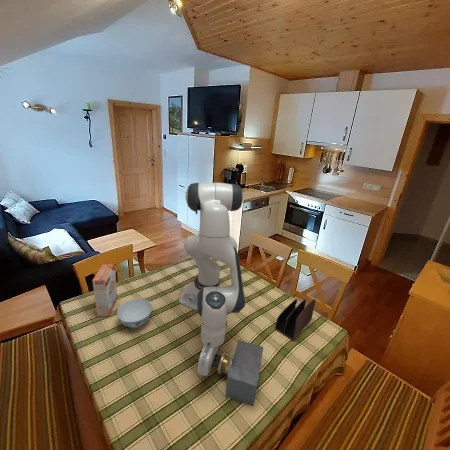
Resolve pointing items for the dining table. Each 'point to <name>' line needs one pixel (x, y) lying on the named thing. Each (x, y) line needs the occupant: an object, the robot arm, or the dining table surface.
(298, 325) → the letter holder
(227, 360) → the brass flanged shaft
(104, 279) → the cracker box
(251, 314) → the dining table surface
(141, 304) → the chinaware
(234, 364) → the housing
